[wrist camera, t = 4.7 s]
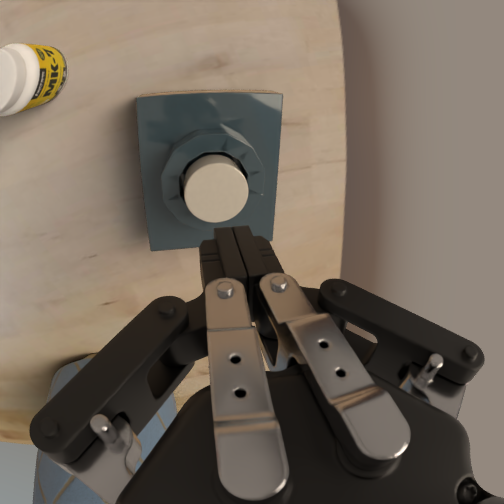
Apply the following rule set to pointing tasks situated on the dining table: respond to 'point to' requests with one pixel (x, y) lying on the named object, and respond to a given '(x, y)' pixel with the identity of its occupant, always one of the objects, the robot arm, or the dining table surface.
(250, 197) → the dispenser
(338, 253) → the dining table surface
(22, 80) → the supplement bottle
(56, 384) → the planter
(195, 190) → the white button cap
